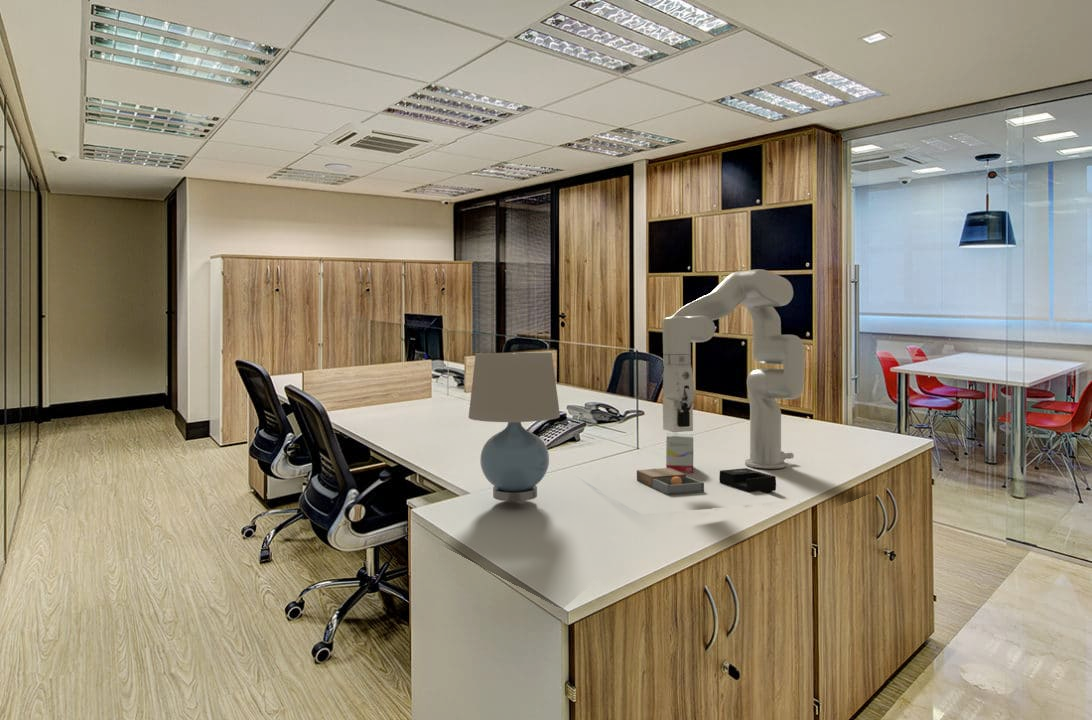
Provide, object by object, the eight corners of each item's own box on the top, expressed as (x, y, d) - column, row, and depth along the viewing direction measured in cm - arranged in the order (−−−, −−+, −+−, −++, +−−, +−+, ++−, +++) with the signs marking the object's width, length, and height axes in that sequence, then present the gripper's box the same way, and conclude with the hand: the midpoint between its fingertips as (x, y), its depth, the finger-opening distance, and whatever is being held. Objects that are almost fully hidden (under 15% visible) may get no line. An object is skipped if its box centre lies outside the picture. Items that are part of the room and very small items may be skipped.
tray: (685, 484, 178) (685, 475, 178) (704, 491, 169) (704, 482, 169) (651, 487, 175) (651, 478, 175) (668, 495, 166) (668, 485, 166)
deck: (669, 477, 187) (669, 467, 187) (686, 484, 178) (686, 474, 178) (636, 480, 184) (636, 470, 184) (651, 487, 175) (651, 476, 175)
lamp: (527, 512, 149) (526, 353, 148) (450, 500, 162) (448, 353, 161) (577, 492, 170) (576, 352, 169) (504, 482, 183) (503, 352, 182)
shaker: (682, 428, 176) (681, 393, 175) (693, 430, 170) (692, 395, 170) (663, 429, 174) (662, 394, 174) (673, 432, 168) (673, 396, 168)
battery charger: (719, 484, 180) (719, 470, 180) (745, 481, 183) (745, 467, 183) (748, 493, 168) (748, 479, 168) (776, 490, 171) (776, 476, 171)
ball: (677, 479, 175) (681, 473, 172) (681, 488, 173) (685, 483, 171) (667, 480, 174) (671, 474, 171) (671, 489, 172) (675, 484, 170)
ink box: (693, 474, 192) (693, 436, 192) (666, 473, 194) (665, 436, 194) (692, 468, 201) (692, 432, 201) (666, 467, 203) (666, 432, 202)
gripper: (705, 361, 164) (706, 428, 165) (673, 359, 181) (674, 420, 181) (680, 362, 162) (681, 430, 162) (650, 360, 178) (651, 422, 179)
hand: (677, 424), depth 172 cm, fingers closed on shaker, 6 cm apart
